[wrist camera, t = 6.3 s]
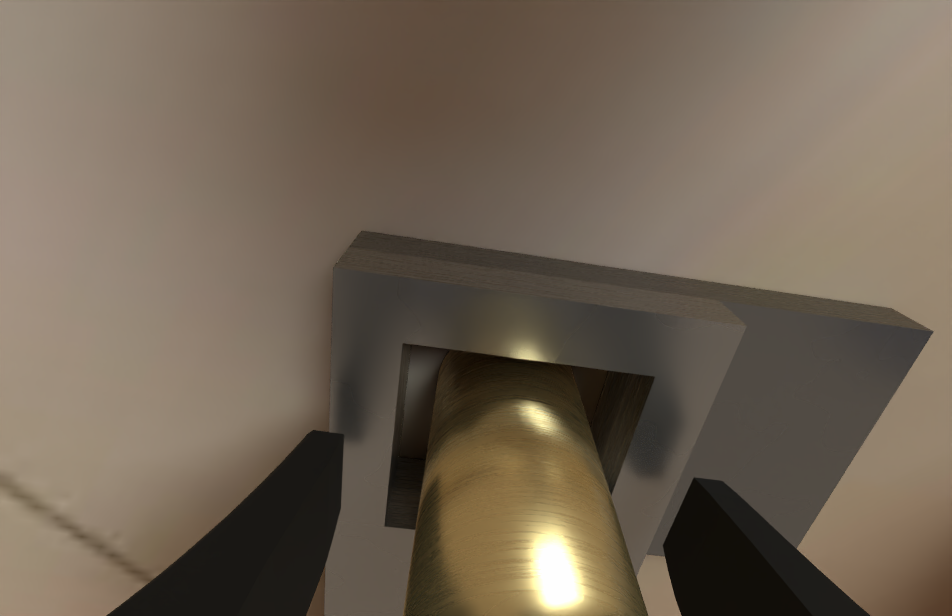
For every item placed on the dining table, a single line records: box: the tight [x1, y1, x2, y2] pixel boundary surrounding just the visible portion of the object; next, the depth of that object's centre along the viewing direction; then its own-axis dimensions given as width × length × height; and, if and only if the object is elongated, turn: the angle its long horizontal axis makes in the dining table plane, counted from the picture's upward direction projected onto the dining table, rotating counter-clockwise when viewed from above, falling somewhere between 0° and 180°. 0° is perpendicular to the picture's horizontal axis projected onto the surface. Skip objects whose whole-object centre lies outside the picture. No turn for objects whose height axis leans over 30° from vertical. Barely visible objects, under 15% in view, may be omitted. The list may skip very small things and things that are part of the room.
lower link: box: [350, 231, 934, 556], centre depth 13 cm, size 13×8×1 cm, turn 81°
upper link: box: [324, 247, 747, 616], centre depth 14 cm, size 8×17×2 cm, turn 171°
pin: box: [403, 349, 648, 616], centre depth 10 cm, size 4×4×7 cm
